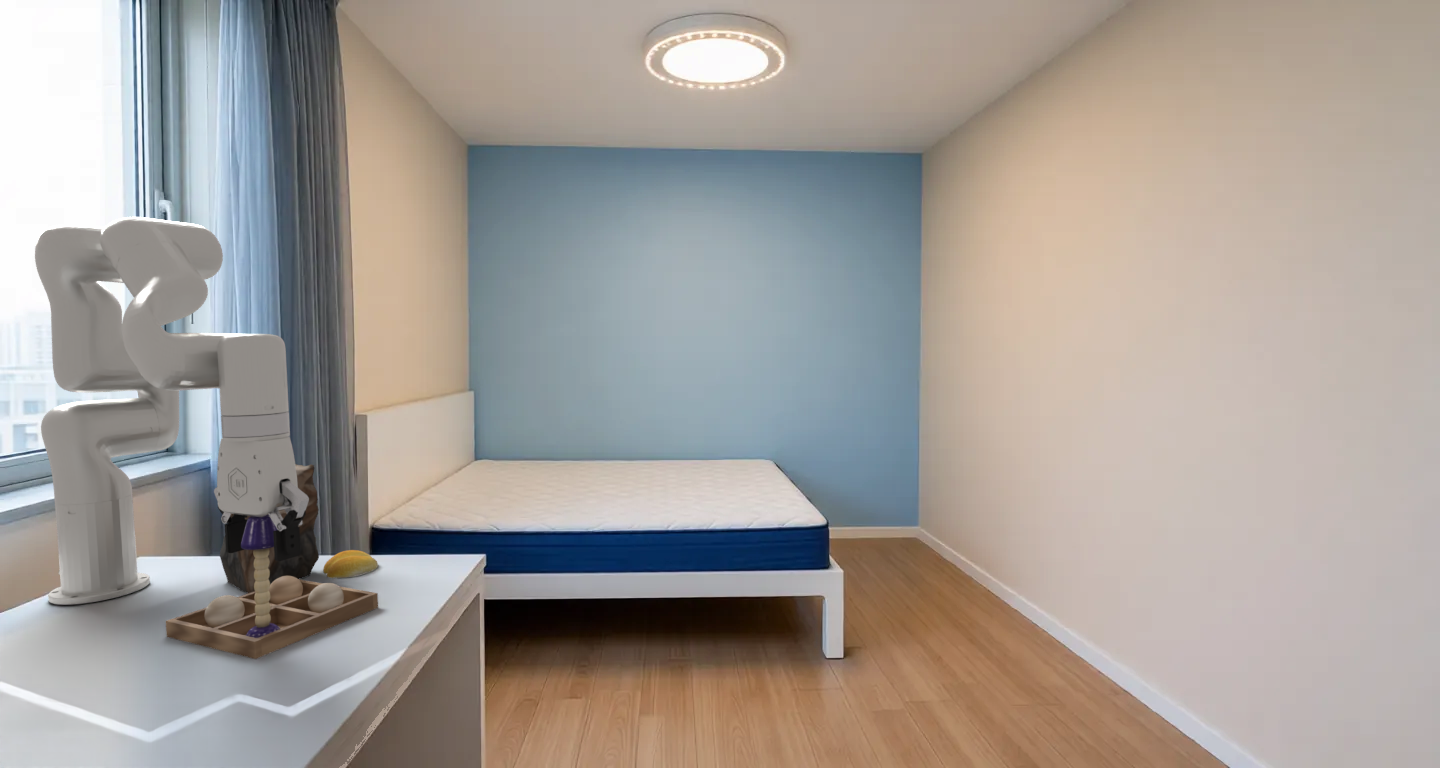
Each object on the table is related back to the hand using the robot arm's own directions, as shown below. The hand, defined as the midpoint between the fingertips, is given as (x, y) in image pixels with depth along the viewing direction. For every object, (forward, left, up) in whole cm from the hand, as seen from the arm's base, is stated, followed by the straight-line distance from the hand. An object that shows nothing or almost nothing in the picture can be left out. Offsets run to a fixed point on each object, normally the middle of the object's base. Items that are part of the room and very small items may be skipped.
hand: (263, 554), depth 94 cm
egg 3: (0, +9, -12) cm, 14 cm away
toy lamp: (0, 0, -12) cm, 12 cm away
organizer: (-4, +4, -12) cm, 14 cm away
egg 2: (-9, +9, -12) cm, 17 cm away
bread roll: (-15, +25, -13) cm, 32 cm away
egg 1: (-9, 0, -12) cm, 14 cm away
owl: (-23, +15, -12) cm, 31 cm away
